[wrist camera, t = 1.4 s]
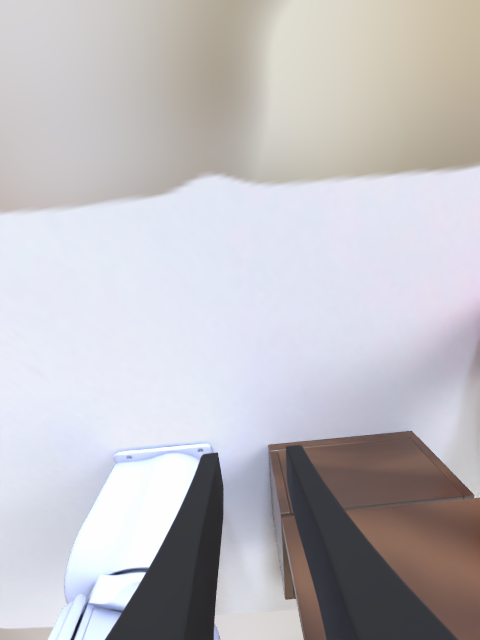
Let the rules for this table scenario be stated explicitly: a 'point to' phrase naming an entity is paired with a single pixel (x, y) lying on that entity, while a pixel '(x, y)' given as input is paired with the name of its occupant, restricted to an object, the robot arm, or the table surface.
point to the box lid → (410, 560)
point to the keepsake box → (364, 478)
